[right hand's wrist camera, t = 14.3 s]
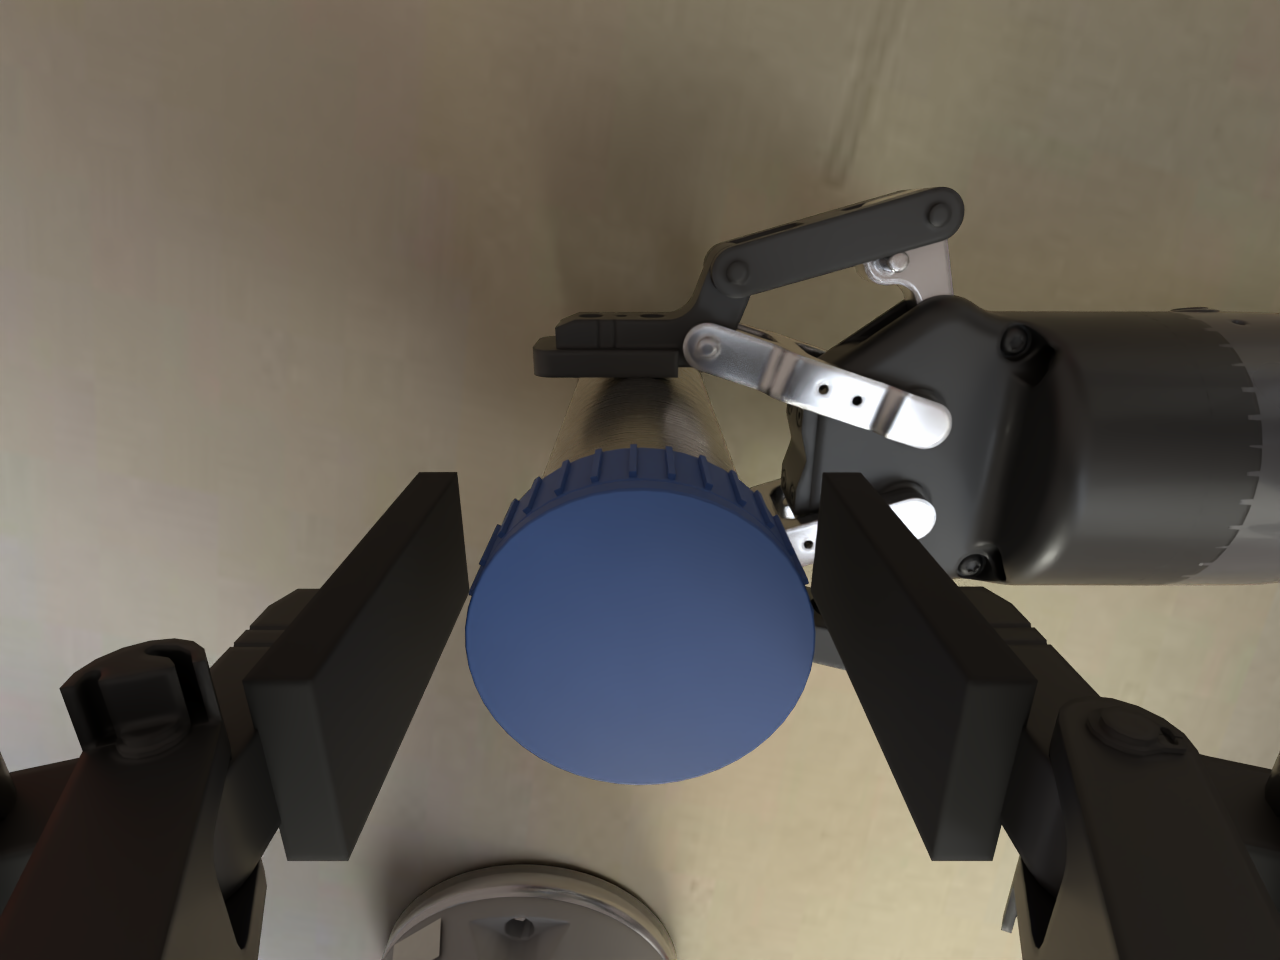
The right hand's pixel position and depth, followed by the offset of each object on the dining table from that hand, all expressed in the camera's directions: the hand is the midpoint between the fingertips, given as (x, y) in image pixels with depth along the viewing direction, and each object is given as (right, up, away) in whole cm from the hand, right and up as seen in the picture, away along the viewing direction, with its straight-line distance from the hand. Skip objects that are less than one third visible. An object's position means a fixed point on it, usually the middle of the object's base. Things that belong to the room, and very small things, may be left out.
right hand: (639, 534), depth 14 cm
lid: (0, -1, -3) cm, 4 cm away
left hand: (-3, +2, +5) cm, 6 cm away
